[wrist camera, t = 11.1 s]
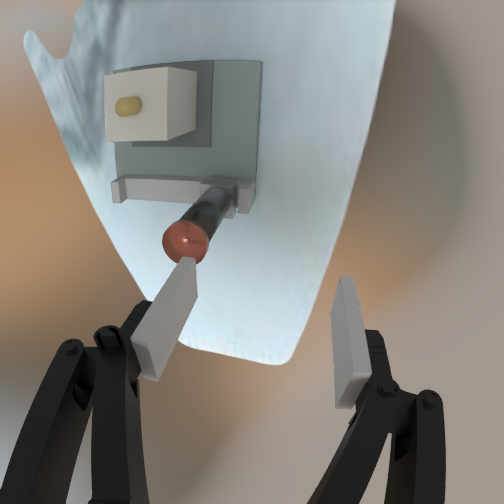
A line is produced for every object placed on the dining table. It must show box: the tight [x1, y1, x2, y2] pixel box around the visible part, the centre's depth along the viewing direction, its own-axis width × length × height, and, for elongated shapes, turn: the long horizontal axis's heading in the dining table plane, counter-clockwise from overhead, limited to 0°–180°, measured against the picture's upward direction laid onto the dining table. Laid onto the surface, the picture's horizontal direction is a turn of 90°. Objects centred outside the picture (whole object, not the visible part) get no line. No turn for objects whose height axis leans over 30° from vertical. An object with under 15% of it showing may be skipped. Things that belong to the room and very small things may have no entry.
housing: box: [104, 67, 197, 142], centre depth 23 cm, size 6×6×9 cm
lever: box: [162, 179, 237, 264], centre depth 25 cm, size 3×3×11 cm
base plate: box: [111, 60, 262, 214], centre depth 28 cm, size 15×16×4 cm
